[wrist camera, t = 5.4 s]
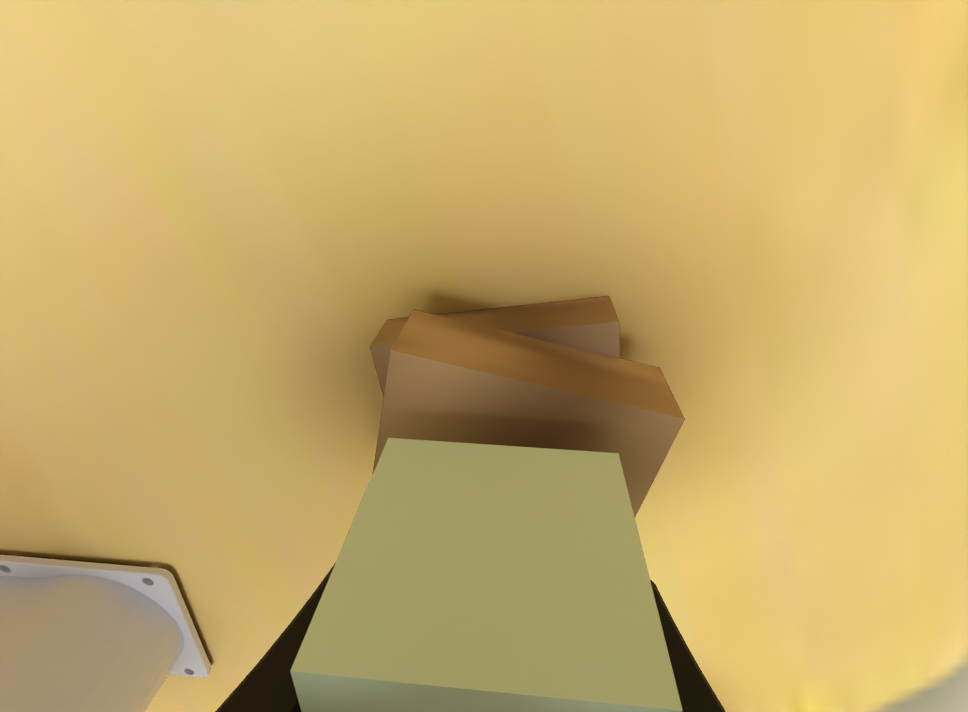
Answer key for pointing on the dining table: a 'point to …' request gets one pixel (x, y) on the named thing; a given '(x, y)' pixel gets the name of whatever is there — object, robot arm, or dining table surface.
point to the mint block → (488, 590)
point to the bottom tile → (527, 327)
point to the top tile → (526, 396)
